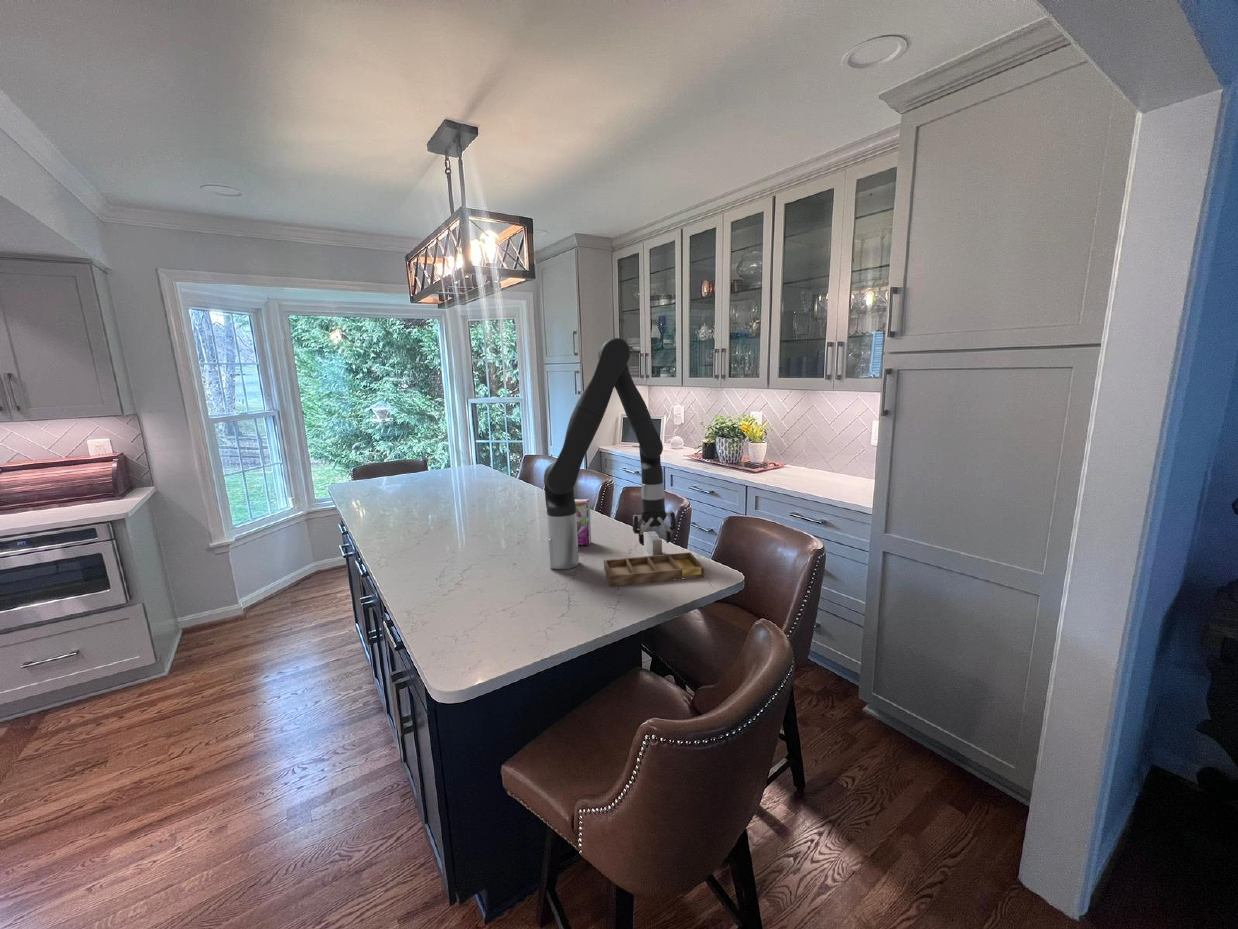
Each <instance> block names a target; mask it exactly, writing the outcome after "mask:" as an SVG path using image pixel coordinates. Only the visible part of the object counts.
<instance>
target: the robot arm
mask: <svg viewBox="0 0 1238 929" xmlns="http://www.w3.org/2000/svg"><path fill="white" fill-rule="evenodd" d="M597 354H598V356H597V357H598V362H597V364H596V367H595V369H594V373H593V375H592V377H591V379H590V381H589V383H587V385H586V387H585V388H584V390H583V392H582V393H581V395H580V397H579V399H578V400H577V402H576V404H575V407H574V408H573V411H572V413H571V416H570V418H569V420H568V425H567V428H566V431H565V438H564V443H563V446H562V448H561V451H560V453H559V455H558V456H557V458H556V460H555V462H552V463H550V464H549V465H548V466H547V467H546V469H545V470H544V475H543V483H544V497H545V506H546V507H545V508H546V516H547V531H548V552H549V554H548V555H549V567H550V569H553V570H554V569H555V570H568V569H569V570H571V569H573V568H575V567H577V566H578V565H579V564H580V562H579V561H580V560H579V559H580V558H579V546H578V538H577V519H576V504H575V499H576V498H575V494H574V492H575V491H574V487H575V485H576V482H577V479H578V476H579V473H580V471H581V467H582V464H583V461H584V457H585V456H586V453H587V451H588V450H589V448H590V446H591V444H592V442H593V440H594V438H595V437H596V434H597V432H598V430H599V428H600V425H601V423H602V421H603V418H604V416H605V414H606V410H607V408H608V405H609V403H610V399H611V396H612V394H613V390H614V388H615V391H616V392H617V395H618V397H619V400H620V403H621V404H622V407H623V410H624V413H625V415H626V418H627V420H628V422H629V425H630V428H631V429H632V431H633V432H634V434H635V436H636V439H637V441H638V445H639V447H638V449H639V459H640V465H641V471H640V472H641V473H640V474H641V476H640V477H641V489H640V490H641V493H640V496H641V510H642V513H641V514H636V513H634V514H633V515H632V532H633V534H635V535H638V542H639V544H640V545H641V546H644V545H645V543H644V542H645V536H644V533H646V531H647V529H649V528H653V527H660V526H662V527H663V528H664V529H665V531H664V535H665V536H664V537H665V538H664V539H665V542H666V543H667V544H670V541H671V539H672V537H671V532H672V531H676V530H677V524H676V523H677V522H676V515H675V512H674V511H672V510H670V511H668V512H666V502H665V501H666V500H665V487H664V471H663V467H662V463H661V462H662V461H661V455H662V453H663V451H664V445H663V442H662V440H661V437H660V436H659V433H658V430H656V429H657V428H655V426H654V422H653V419H652V416H651V414H650V411H649V410H648V407H647V404H646V402H645V400H644V398H643V396H642V394H641V393H640V391H639V389H638V388H637V386H636V384H635V382H634V381H633V378H632V375H631V373H630V370H629V366H628V363H629V360H630V359H631V358H630V357H631V348H630V346H629V344H628V343H627V342H626V340H624V339H623V338H621V337H620V338H619V337H613V338H610V339H607V340H606V341H605V342H603V344H601V345H600V347H599V350H598V353H597ZM667 517H668V519H669V522H670V523H669V524H670V525H669V526H668V525H667V523H666V522H665V520H666V518H667ZM640 520H642V521H643V522H642V523H641V525H640V528H638V527H639V523H640Z"/></svg>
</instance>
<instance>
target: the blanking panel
mask: <svg viewBox="0 0 1238 929" xmlns="http://www.w3.org/2000/svg"><path fill="white" fill-rule="evenodd" d="M645 533H646V534H645V535H646V538H645V540H646V552H647V554H648V556H655V555H663V540H662V538H661V537H660V535H659V534H658V533H657V532H656V531H655V530H653V531H645Z"/></svg>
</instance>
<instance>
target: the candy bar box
mask: <svg viewBox="0 0 1238 929" xmlns="http://www.w3.org/2000/svg"><path fill="white" fill-rule="evenodd" d="M574 499H575V504H576V519H577V538H578V547H583V546H582V545H587V546H586V547H588V545H589V544H591V543H592V526H591V524H592V523H591V503H590V502H591V500H590V499H589V498H587V499H585V498H584V499H580V498H578V499H577V498H574ZM579 545H581V546H579ZM589 546H590V545H589Z"/></svg>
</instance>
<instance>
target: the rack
mask: <svg viewBox="0 0 1238 929" xmlns="http://www.w3.org/2000/svg"><path fill="white" fill-rule="evenodd" d="M603 570H604V573H605V575H606V579H607V581H608V584H609V587H616V586H617V587H618V586H627V585H637V584H638V583H639V584H647V583H646V582H650V583H658V582H657V581H660V582H666V581H665V580H670V581H675V580H674V579H680V580H683V579H682V578H690V579H698V578H700V577H701V578H704V577H705V567H704V566H703V565H702V564H701V563H700V561H699V560H698V559H697V558H696V557H695V556H694V554H692V552H679V553H670V554H669V553H667V554H662V555H655V556H650V555H646V556H635V557H625V558H623V557H622V558H613V559H611V558H610V559H604V560H603ZM639 584H638V585H639Z"/></svg>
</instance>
